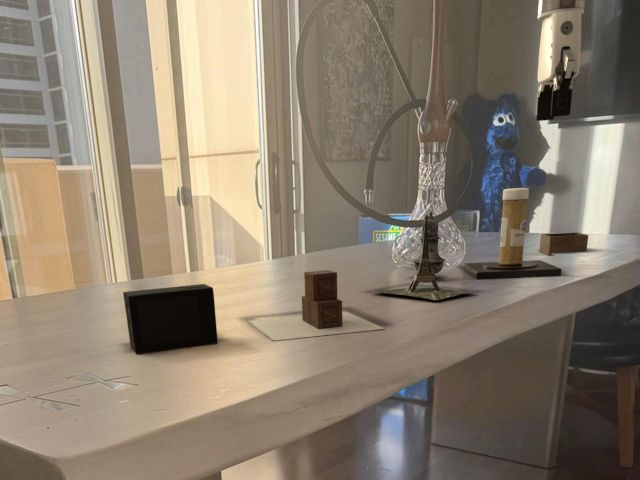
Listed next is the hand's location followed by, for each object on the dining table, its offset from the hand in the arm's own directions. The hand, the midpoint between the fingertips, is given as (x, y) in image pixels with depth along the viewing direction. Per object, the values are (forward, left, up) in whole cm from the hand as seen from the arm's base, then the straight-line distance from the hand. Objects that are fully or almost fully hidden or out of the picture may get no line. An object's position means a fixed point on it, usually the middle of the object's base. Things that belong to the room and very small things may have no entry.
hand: (552, 118), depth 126 cm
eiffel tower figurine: (+25, +27, -27) cm, 46 cm away
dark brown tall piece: (+22, +10, -27) cm, 36 cm away
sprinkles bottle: (+6, +4, -25) cm, 26 cm away
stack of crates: (+42, +50, -27) cm, 71 cm away
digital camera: (+60, +60, -27) cm, 89 cm away
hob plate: (+6, +4, -26) cm, 28 cm away
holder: (-12, -26, -26) cm, 39 cm away
